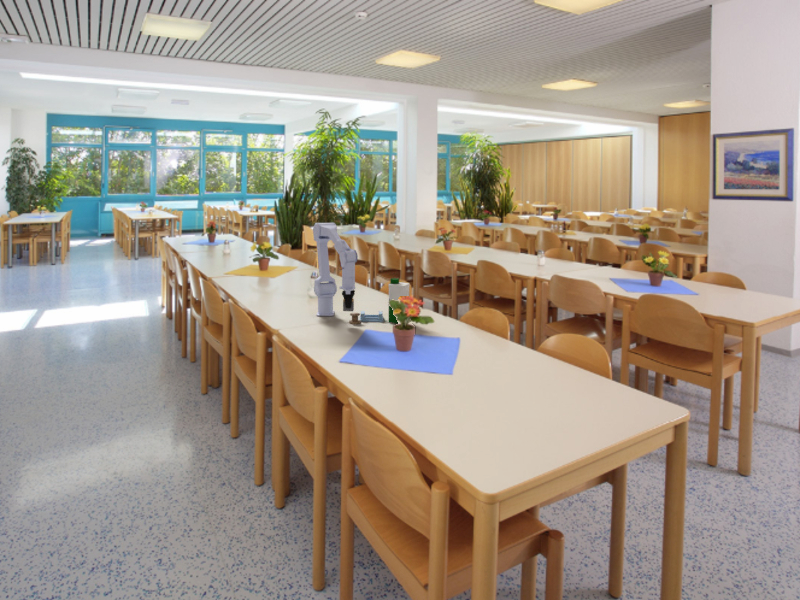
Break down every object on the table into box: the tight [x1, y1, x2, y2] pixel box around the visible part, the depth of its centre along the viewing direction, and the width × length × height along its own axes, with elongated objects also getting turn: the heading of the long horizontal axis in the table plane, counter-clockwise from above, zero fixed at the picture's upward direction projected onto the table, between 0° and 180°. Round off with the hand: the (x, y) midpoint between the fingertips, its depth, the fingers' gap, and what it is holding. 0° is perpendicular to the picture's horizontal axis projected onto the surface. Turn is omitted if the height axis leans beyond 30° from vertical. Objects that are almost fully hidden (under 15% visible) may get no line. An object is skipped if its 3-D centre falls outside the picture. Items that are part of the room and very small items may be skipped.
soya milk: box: [387, 277, 411, 324], centre depth 260 cm, size 9×9×20 cm
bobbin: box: [348, 312, 362, 325], centre depth 258 cm, size 5×5×4 cm
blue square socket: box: [359, 310, 384, 323], centre depth 264 cm, size 9×11×3 cm
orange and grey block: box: [342, 298, 355, 312], centre depth 253 cm, size 3×4×5 cm
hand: (348, 307), depth 253 cm, fingers closed on orange and grey block, 3 cm apart
